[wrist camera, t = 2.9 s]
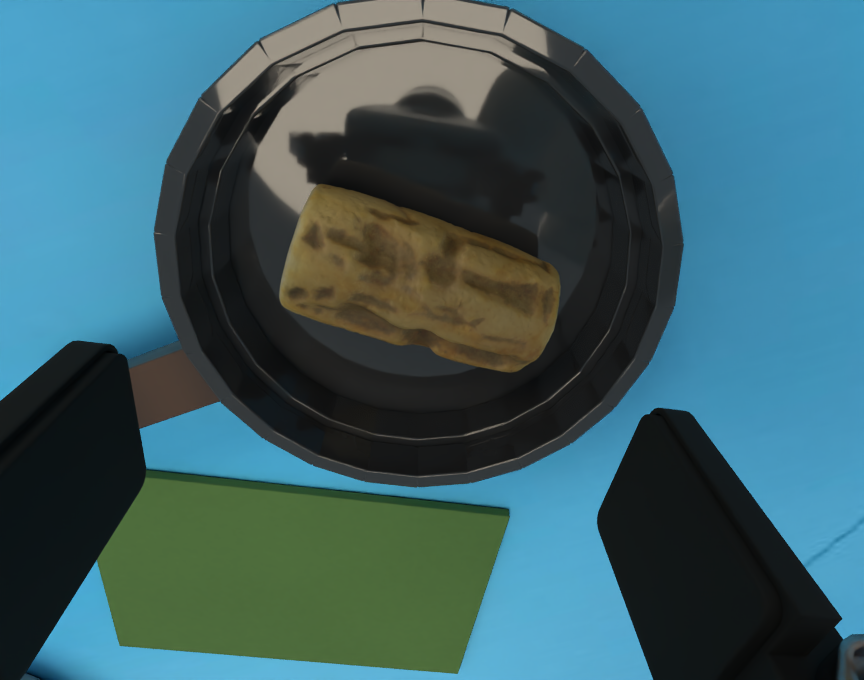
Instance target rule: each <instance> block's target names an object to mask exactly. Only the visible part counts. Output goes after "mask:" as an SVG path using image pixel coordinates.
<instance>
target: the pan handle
mask: <svg viewBox="0 0 864 680" xmlns="http://www.w3.org/2000/svg"><path fill="white" fill-rule="evenodd" d="M127 361H128V366H129V372H130V378H131V383H132V389H133V395H134V401H135V406H136V412H137V418H138V424H139V429H140V428H143V427H146V426H149V425H152V424H155V423H158V422H161V421H164V420H166V419H169V418H172V417H175V416H178V415H181V414H184V413H187V412H190V411H193V410H196V409H199V408H202V407H204V406H207V405H210V404H213V403H216V402H219V401H220V400H219V399H218V398H217V397H216V395H215V394H214V393H213V391H212V390H211V389H210V387H209V386H208V384H207V383H206V382H205V380H204V379H203V378H202V376H201V375H200V374H199V372H198V371H197V370H196V368H195V367H194V365H193V364H192V363H191V361H190V360H189V359H188V357H187V356H186V354H185V353H184V351H183V349H182V346H181V344H180V341H176V342H173V343H171V344H168V345H165V346H163V347H160V348H157V349H155V350H152V351H149V352H147V353H144V354H141V355H139V356H136V357H133V358H131V359H128V360H127Z"/></svg>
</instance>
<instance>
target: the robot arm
mask: <svg viewBox="0 0 864 680" xmlns="http://www.w3.org/2000/svg"><path fill="white" fill-rule="evenodd" d="M145 477H146V464H145V458H144V453H143V447H142V441H141V435H140V430H139V424H138V418H137V412H136V406H135V401H134V395H133V389H132V383H131V378H130V372H129V366H128V361H127V358H126V357H125V355H122V354H118V351H117V349H116V348H115V347H114V346H113V345H111V344H103V343H94V342H85V341H72V342H70V343H69V344H67V345H66V346H65V347H64V348H63V349H61V350H60V351H59V352H58V353H57V354H55V355H54V356H53V357H52V358H51V359H50V360H48V361H47V362H46V363H45V364H44V365H42V366H41V367H40V368H39V369H38V370H37V371H35V372H34V373H33V374H32V375H31V376H29V377H28V378H27V379H26V380H25V381H24V382H22V383H21V384H20V385H19V386H18V387H16V388H15V389H14V390H13V391H12V392H11V393H9V394H8V395H7V396H6V397H5V398H3V399H2V400H1V401H0V680H21V678H22V677H23V676H24V674H25V673H26V671H27V670H28V668H29V667H30V665H31V663H32V662H33V660H34V659H35V657H36V656H37V654H38V652H39V651H40V649H41V648H42V646H43V644H44V643H45V641H46V640H47V638H48V636H49V635H50V633H51V632H52V630H53V629H54V627H55V625H56V624H57V622H58V621H59V619H60V617H61V616H62V614H63V613H64V611H65V609H66V608H67V606H68V605H69V603H70V602H71V600H72V598H73V597H74V595H75V594H76V592H77V590H78V589H79V587H80V586H81V584H82V582H83V581H84V579H85V578H86V576H87V575H88V573H89V571H90V570H91V568H92V567H93V565H94V563H95V562H96V560H97V559H98V557H99V555H100V554H101V552H102V551H103V549H104V548H105V546H106V544H107V543H108V541H109V540H110V538H111V536H112V535H113V533H114V532H115V530H116V529H117V527H118V525H119V524H120V522H121V521H122V519H123V517H124V516H125V514H126V513H127V511H128V509H129V508H130V506H131V505H132V503H133V502H134V500H135V498H136V497H137V495H138V494H139V492H140V490H141V488H142V487H143V484H144V481H145ZM597 525H598V530H599V533H600V536H601V539H602V541H603V544H604V547H605V550H606V552H607V555H608V558H609V560H610V563H611V566H612V569H613V571H614V574H615V577H616V579H617V582H618V585H619V588H620V590H621V593H622V596H623V599H624V601H625V604H626V607H627V609H628V612H629V615H630V618H631V620H632V623H633V626H634V628H635V631H636V634H637V637H638V639H639V642H640V645H641V648H642V650H643V653H644V656H645V658H646V661H647V664H648V667H649V669H650V672H651V675H652V677H653V680H864V634H852V635H850V636H848V637H847V638H845V639H842V637H841V636H840V634H839V633H838V632H837V630H836V629H835V626H836V625H837V624H838V623H839V622H840V621H841V620H842V617H841V616H840V615H839V613H838V612H837V611H836V609H835V608H834V607H833V605H832V604H831V603H830V601H829V600H828V598H827V597H826V596H825V594H824V593H823V592H822V590H821V589H820V588H819V586H818V585H817V584H816V582H815V581H814V579H813V578H812V577H811V575H810V574H809V573H808V571H807V570H806V569H805V567H804V566H803V565H802V563H801V562H800V560H799V559H798V558H797V556H796V555H795V554H794V552H793V551H792V550H791V548H790V547H789V546H788V544H787V543H786V541H785V540H784V539H783V537H782V536H781V535H780V533H779V532H778V531H777V529H776V528H775V527H774V525H773V524H772V522H771V521H770V520H769V518H768V517H767V516H766V514H765V513H764V512H763V510H762V509H761V508H760V506H759V505H758V503H757V502H756V501H755V499H754V498H753V497H752V495H751V494H750V493H749V491H748V490H747V489H746V487H745V486H744V484H743V483H742V482H741V480H740V479H739V478H738V476H737V475H736V474H735V472H734V471H733V470H732V468H731V467H730V465H729V464H728V463H727V461H726V460H725V459H724V457H723V456H722V455H721V453H720V452H719V451H718V449H717V448H716V446H715V445H714V444H713V442H712V441H711V440H710V438H709V437H708V436H707V434H706V433H705V432H704V430H703V429H702V427H701V426H700V425H699V423H698V422H697V421H696V419H695V418H694V417H693V415H692V414H690V413H689V412H687V411H681V410H673V409H664V408H656V409H654V410H653V411H651V413H650V414H647V415H644V416H643V417H642V418H641V420H640V422H639V424H638V426H637V428H636V431H635V433H634V435H633V437H632V439H631V441H630V444H629V446H628V448H627V450H626V452H625V455H624V457H623V459H622V461H621V463H620V465H619V468H618V470H617V472H616V474H615V476H614V479H613V481H612V483H611V485H610V487H609V489H608V492H607V494H606V496H605V498H604V500H603V503H602V505H601V507H600V509H599V512H598V517H597Z"/></svg>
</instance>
